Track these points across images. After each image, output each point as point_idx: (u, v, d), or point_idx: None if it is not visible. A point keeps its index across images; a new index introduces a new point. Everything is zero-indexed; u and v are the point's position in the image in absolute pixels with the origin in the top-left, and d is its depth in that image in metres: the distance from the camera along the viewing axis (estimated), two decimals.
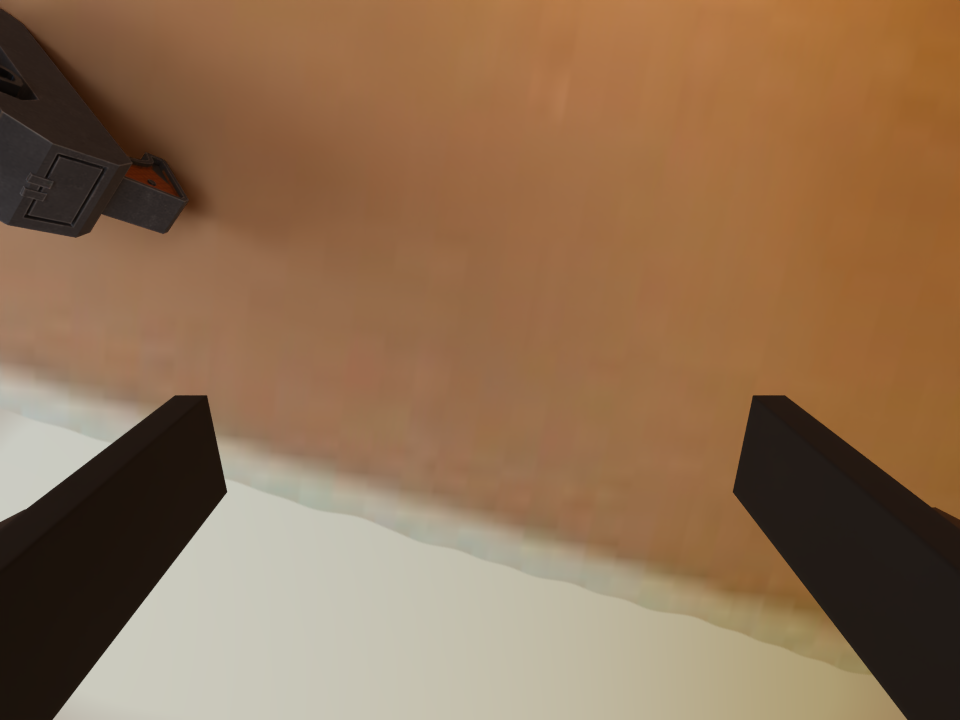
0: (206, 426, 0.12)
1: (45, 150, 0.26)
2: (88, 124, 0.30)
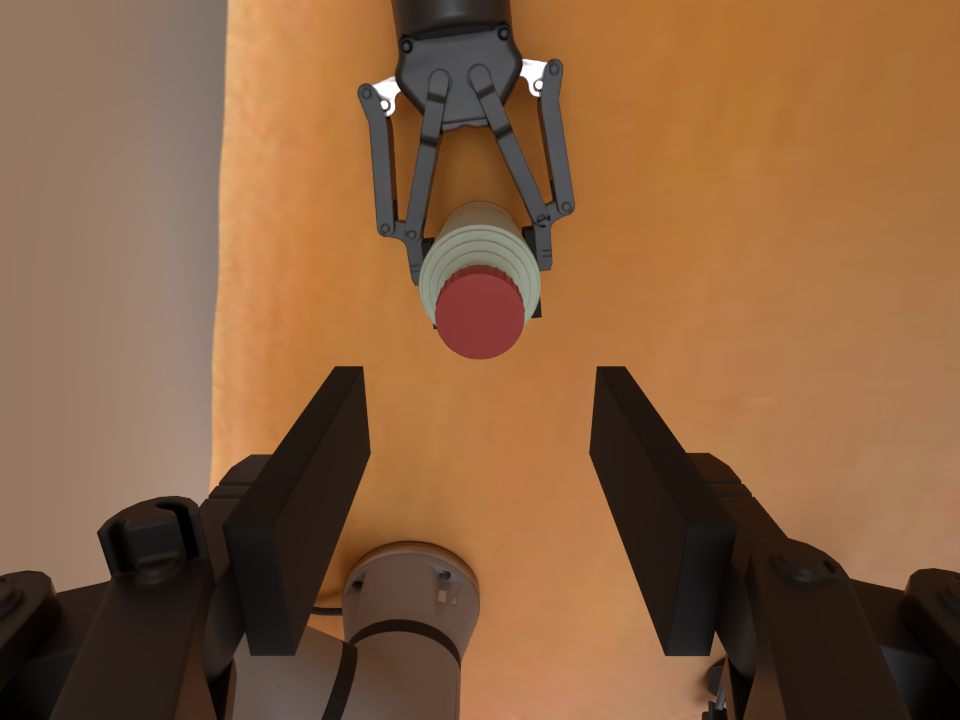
0: (362, 393, 0.14)
1: None
2: None
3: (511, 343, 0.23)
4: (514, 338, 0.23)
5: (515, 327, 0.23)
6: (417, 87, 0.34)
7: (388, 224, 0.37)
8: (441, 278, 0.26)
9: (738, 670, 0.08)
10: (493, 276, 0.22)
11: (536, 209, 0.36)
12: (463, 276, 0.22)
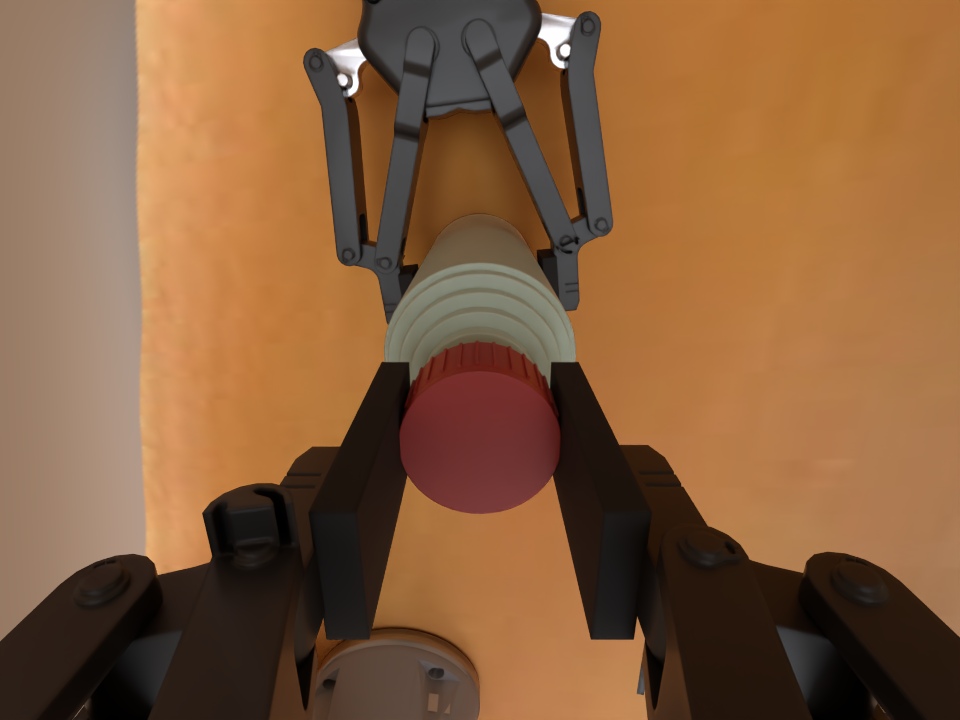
0: (408, 388, 0.14)
1: None
2: None
3: (537, 488, 0.13)
4: (542, 480, 0.13)
5: (544, 462, 0.13)
6: (389, 54, 0.23)
7: (352, 249, 0.26)
8: (416, 353, 0.16)
9: (653, 654, 0.08)
10: (505, 376, 0.12)
11: (559, 228, 0.26)
12: (449, 375, 0.12)
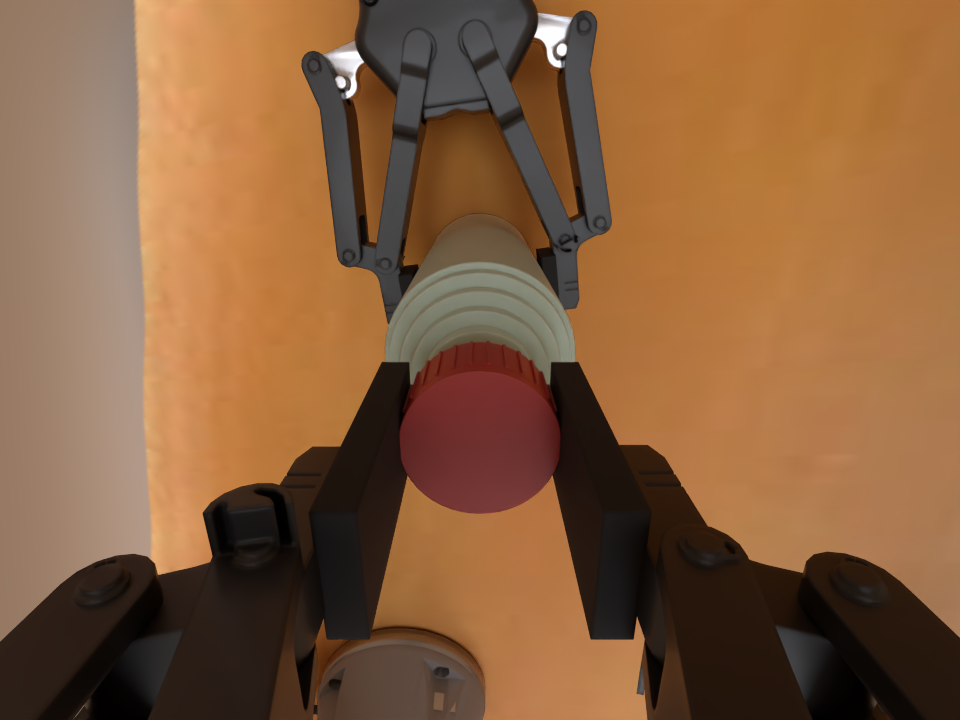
0: None
1: None
2: None
3: (516, 382, 0.12)
4: (504, 380, 0.12)
5: (482, 384, 0.12)
6: (387, 56, 0.23)
7: (352, 250, 0.26)
8: (416, 352, 0.16)
9: (653, 654, 0.08)
10: None
11: (557, 227, 0.26)
12: (415, 483, 0.13)
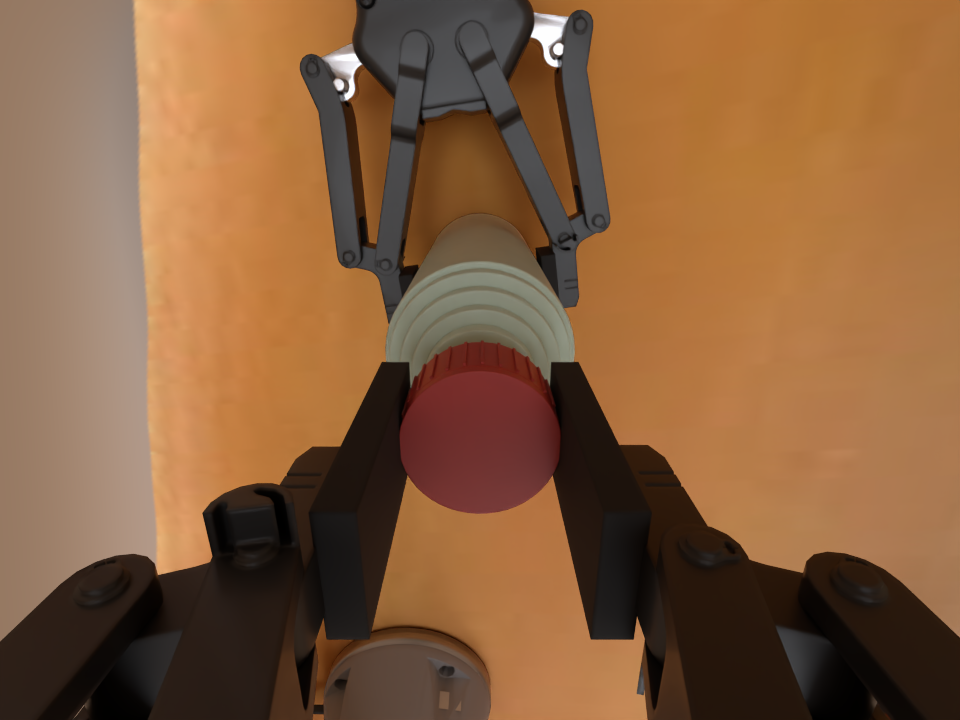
0: (409, 388, 0.14)
1: None
2: None
3: (403, 431, 0.12)
4: (404, 442, 0.12)
5: (414, 458, 0.13)
6: (384, 58, 0.24)
7: (352, 251, 0.27)
8: (417, 352, 0.16)
9: (653, 654, 0.08)
10: (493, 512, 0.13)
11: (556, 225, 0.26)
12: (538, 490, 0.13)
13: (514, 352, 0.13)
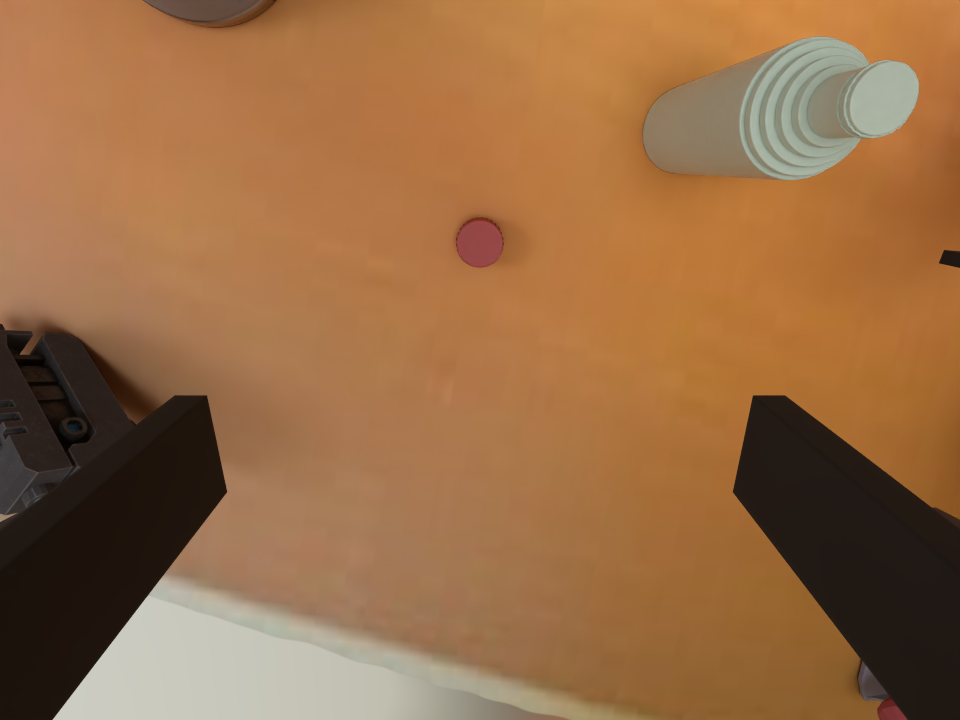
0: (206, 426, 0.12)
1: None
2: None
3: (501, 238, 0.44)
4: (499, 235, 0.44)
5: (494, 231, 0.44)
6: None
7: None
8: (863, 66, 0.24)
9: None
10: (465, 225, 0.44)
11: None
12: (457, 238, 0.44)
13: None
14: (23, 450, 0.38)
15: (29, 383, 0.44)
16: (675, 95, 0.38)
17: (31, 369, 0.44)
